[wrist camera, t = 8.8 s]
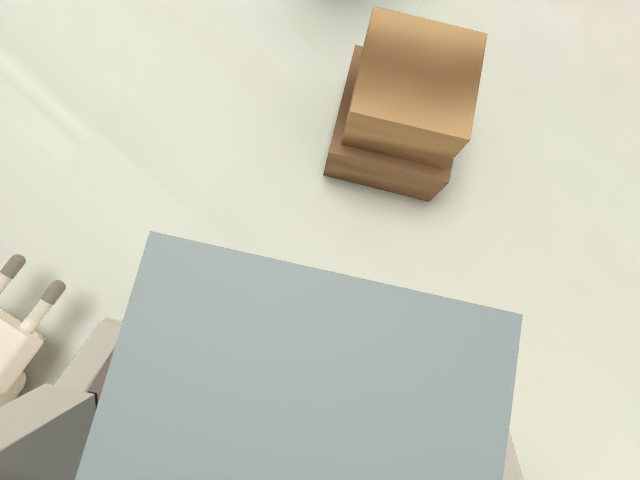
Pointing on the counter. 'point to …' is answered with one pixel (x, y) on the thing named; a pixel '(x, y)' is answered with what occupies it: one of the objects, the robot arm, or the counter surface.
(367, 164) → the tower base
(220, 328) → the slate column
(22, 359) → the power adapter
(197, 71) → the counter surface
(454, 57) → the tower top
